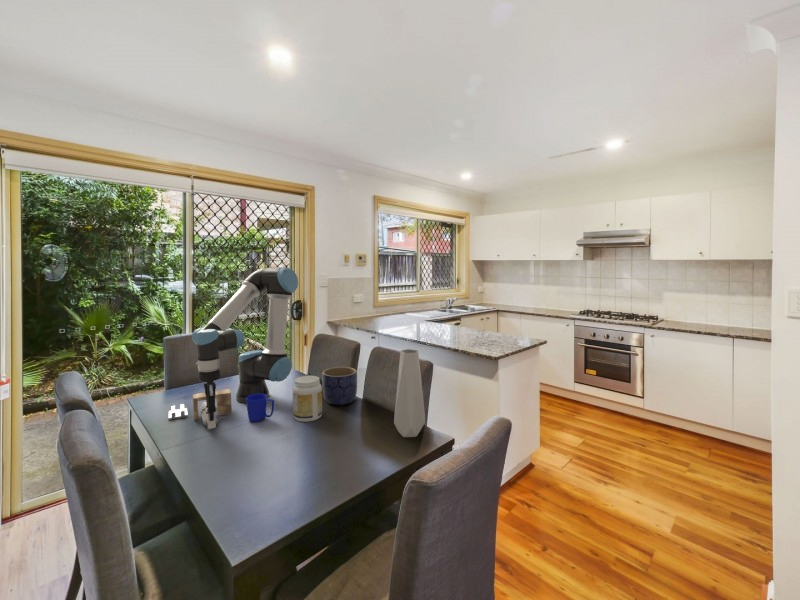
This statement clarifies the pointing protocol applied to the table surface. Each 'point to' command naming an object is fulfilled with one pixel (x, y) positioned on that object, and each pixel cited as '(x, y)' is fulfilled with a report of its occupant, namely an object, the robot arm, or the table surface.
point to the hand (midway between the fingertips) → (211, 427)
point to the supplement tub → (307, 398)
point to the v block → (178, 412)
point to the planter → (339, 385)
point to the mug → (258, 407)
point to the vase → (409, 395)
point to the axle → (204, 415)
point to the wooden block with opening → (221, 402)
